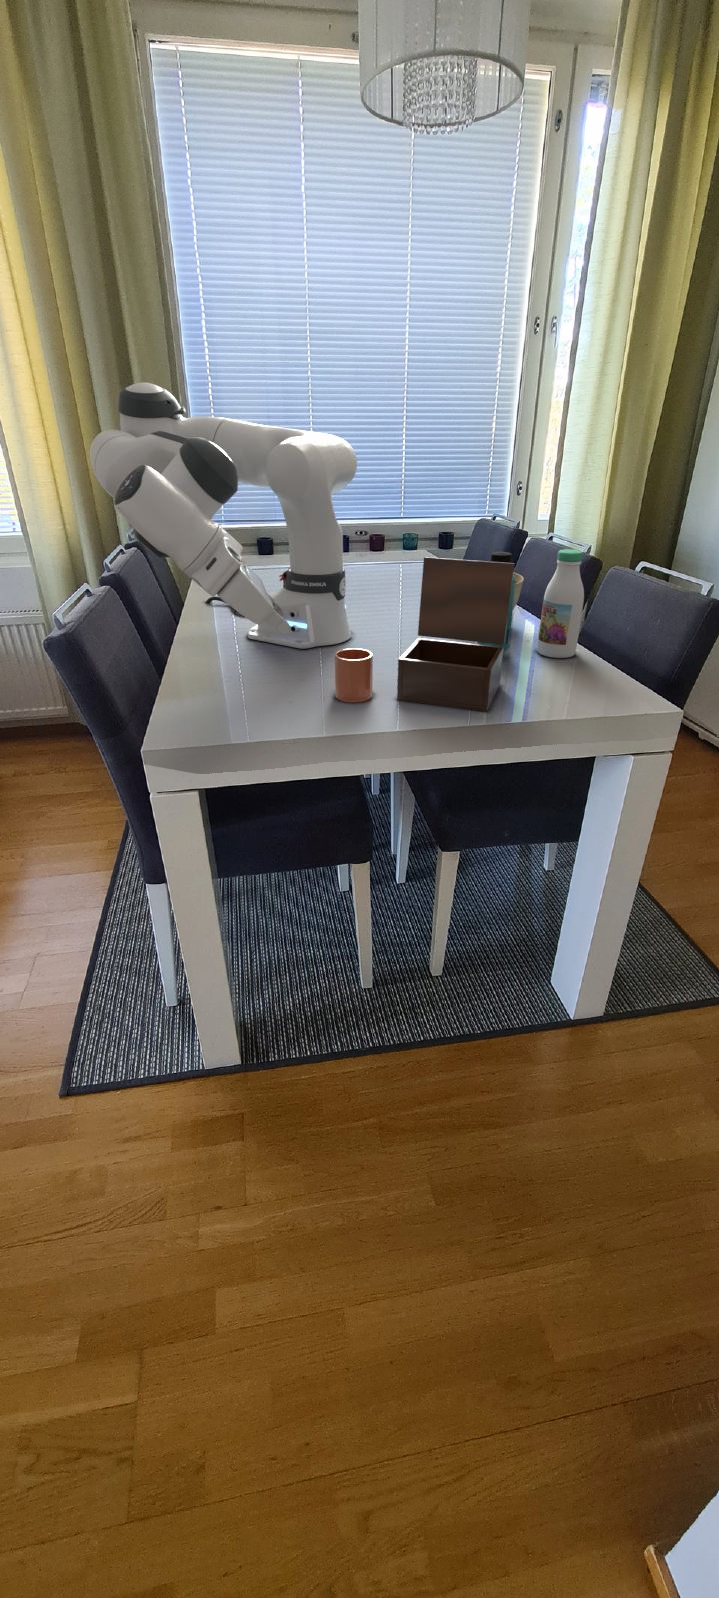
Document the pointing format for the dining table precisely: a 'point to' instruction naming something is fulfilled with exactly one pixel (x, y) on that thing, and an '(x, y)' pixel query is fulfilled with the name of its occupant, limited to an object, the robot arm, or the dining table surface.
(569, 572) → the milk bottle
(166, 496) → the robot arm
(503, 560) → the beverage bottle
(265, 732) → the dining table surface
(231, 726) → the dining table surface
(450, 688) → the box
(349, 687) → the cup
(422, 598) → the lid
